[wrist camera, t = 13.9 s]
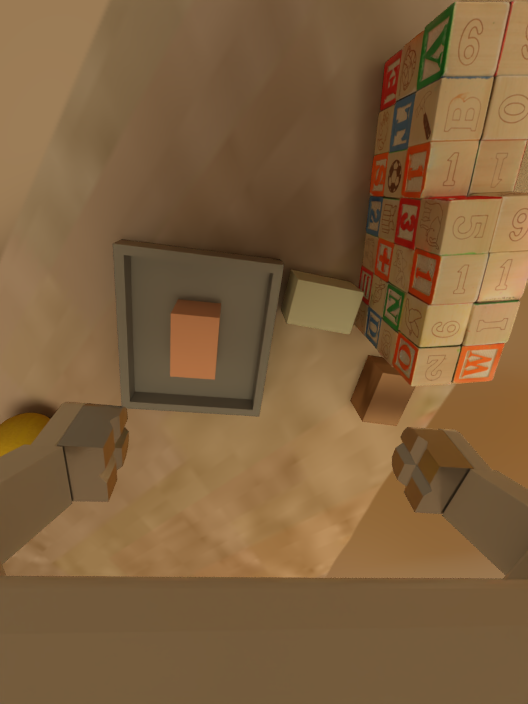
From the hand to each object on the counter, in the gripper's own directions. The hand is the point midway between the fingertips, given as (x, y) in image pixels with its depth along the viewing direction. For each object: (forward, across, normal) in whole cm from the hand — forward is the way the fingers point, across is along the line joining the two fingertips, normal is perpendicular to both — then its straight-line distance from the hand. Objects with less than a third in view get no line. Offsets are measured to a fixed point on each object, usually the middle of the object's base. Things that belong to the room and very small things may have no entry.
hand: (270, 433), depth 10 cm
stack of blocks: (+24, -13, -6) cm, 28 cm away
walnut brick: (+23, -16, +12) cm, 30 cm away
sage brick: (+23, -7, +3) cm, 25 cm away
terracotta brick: (+22, +4, +8) cm, 24 cm away
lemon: (+23, +20, +20) cm, 36 cm away
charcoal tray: (+23, +4, +8) cm, 25 cm away
